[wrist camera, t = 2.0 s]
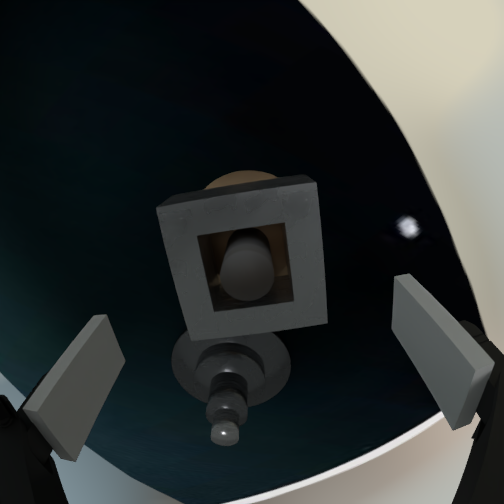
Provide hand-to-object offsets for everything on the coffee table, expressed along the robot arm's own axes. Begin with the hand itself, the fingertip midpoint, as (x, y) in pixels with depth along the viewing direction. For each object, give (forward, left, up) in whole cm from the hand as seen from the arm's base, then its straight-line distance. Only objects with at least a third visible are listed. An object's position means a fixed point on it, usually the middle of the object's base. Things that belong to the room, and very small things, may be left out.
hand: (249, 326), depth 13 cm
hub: (+13, -4, -14) cm, 19 cm away
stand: (0, 0, -14) cm, 14 cm away
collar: (0, 0, -10) cm, 10 cm away
